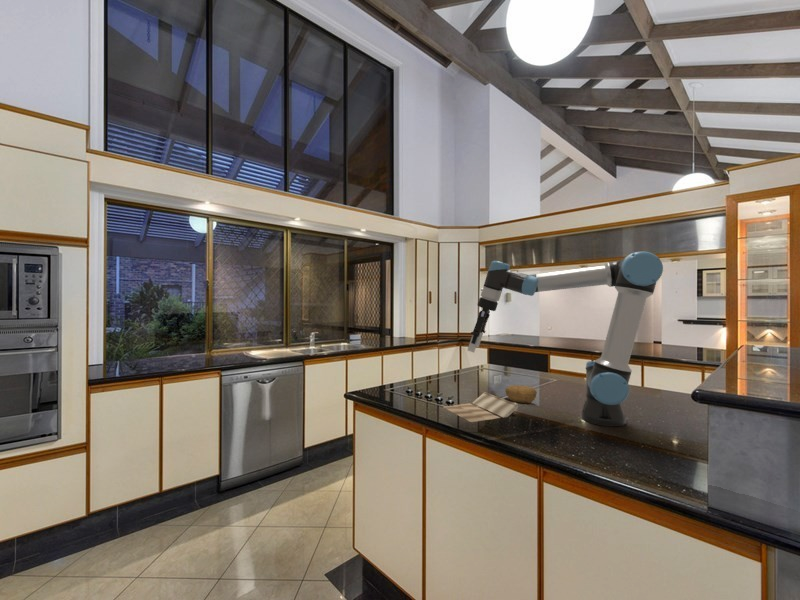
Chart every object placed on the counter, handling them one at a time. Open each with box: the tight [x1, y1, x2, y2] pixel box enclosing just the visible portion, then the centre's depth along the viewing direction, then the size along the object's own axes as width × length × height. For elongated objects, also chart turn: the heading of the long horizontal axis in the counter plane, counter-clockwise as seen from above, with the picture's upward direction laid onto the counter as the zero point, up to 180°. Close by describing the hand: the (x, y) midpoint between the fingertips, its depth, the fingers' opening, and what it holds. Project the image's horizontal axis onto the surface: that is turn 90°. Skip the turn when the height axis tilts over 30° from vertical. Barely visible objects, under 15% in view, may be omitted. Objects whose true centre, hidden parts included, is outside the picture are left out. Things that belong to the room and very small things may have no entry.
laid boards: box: [442, 403, 501, 423], centre depth 152 cm, size 22×14×1 cm, turn 22°
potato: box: [505, 384, 537, 404], centre depth 169 cm, size 10×14×8 cm
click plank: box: [472, 391, 519, 418], centre depth 156 cm, size 22×8×1 cm
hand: (473, 348), depth 151 cm, fingers open, 13 cm apart
